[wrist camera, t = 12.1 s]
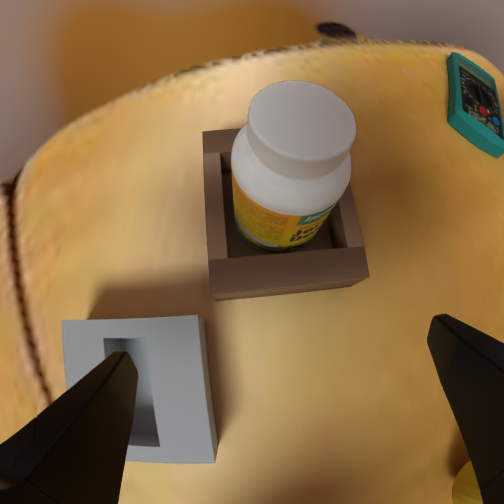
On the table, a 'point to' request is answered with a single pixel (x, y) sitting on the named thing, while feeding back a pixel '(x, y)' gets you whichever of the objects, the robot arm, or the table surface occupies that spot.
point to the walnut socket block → (273, 265)
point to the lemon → (466, 486)
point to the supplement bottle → (290, 164)
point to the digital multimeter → (475, 105)
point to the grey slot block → (154, 382)
